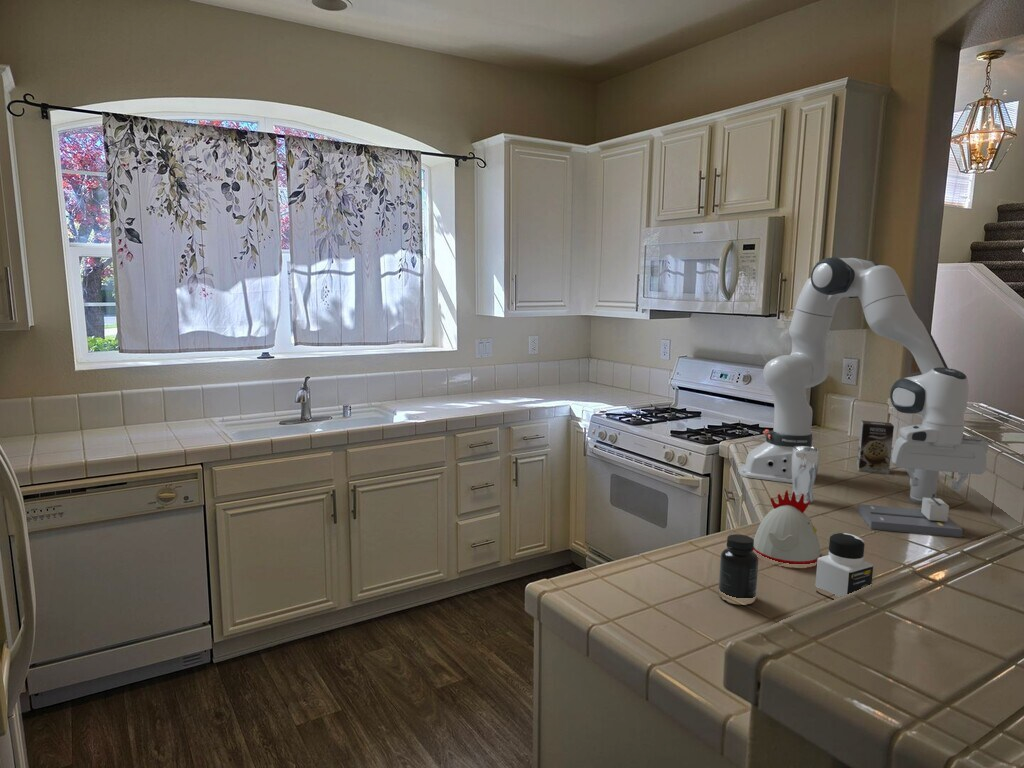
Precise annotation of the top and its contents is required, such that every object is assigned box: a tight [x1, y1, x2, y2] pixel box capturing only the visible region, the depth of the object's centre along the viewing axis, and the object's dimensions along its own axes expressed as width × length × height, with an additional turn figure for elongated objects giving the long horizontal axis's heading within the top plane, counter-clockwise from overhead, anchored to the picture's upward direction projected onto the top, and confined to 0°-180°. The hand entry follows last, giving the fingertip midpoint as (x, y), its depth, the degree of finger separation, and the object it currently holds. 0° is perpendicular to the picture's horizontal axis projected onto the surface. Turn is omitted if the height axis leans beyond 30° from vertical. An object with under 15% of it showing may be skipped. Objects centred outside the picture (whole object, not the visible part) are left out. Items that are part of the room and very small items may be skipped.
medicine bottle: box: [814, 532, 874, 597], centre depth 129 cm, size 7×7×12 cm
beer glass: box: [789, 446, 820, 504], centre depth 188 cm, size 7×7×15 cm
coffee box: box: [856, 420, 895, 475], centre depth 220 cm, size 9×6×16 cm
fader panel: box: [856, 503, 963, 538], centre depth 171 cm, size 20×14×2 cm
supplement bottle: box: [718, 533, 759, 598], centre depth 128 cm, size 7×7×12 cm
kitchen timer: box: [753, 489, 821, 564], centre depth 148 cm, size 14×14×15 cm
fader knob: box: [921, 497, 950, 522], centre depth 169 cm, size 4×6×4 cm, turn 165°
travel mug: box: [909, 469, 940, 506], centre depth 187 cm, size 6×7×20 cm
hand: (934, 487), depth 168 cm, fingers open, 8 cm apart
